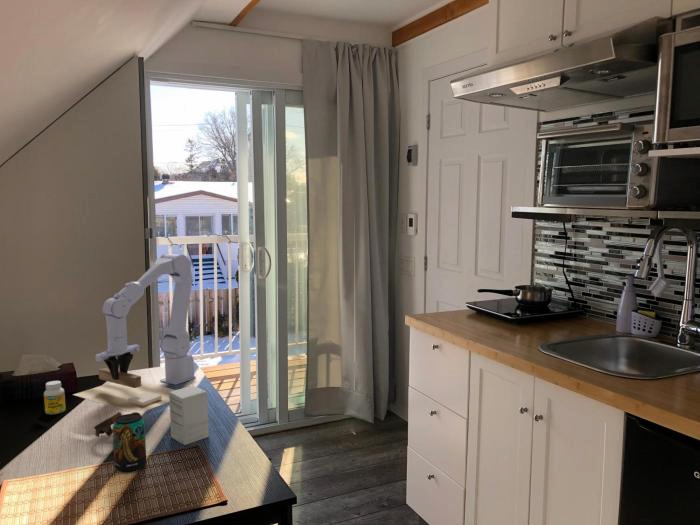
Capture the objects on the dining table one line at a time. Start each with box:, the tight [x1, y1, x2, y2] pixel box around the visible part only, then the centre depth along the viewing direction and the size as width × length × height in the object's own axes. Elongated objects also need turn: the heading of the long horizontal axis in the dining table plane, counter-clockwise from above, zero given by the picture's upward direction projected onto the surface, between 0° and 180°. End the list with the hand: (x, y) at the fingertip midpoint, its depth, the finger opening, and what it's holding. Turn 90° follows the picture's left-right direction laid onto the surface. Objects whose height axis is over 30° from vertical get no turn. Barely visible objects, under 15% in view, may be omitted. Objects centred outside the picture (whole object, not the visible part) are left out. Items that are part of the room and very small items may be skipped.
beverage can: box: [111, 413, 148, 474], centre depth 134 cm, size 7×7×12 cm
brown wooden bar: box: [98, 367, 142, 388], centre depth 182 cm, size 2×18×3 cm, turn 57°
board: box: [72, 381, 176, 416], centre depth 183 cm, size 20×32×1 cm, turn 58°
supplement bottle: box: [43, 380, 66, 415], centre depth 168 cm, size 5×5×10 cm
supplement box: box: [169, 385, 210, 446], centre depth 151 cm, size 7×7×13 cm
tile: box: [128, 392, 162, 406], centre depth 176 cm, size 7×1×7 cm
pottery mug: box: [93, 411, 143, 438], centre depth 151 cm, size 12×10×8 cm
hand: (119, 378), depth 182 cm, fingers closed on brown wooden bar, 2 cm apart
